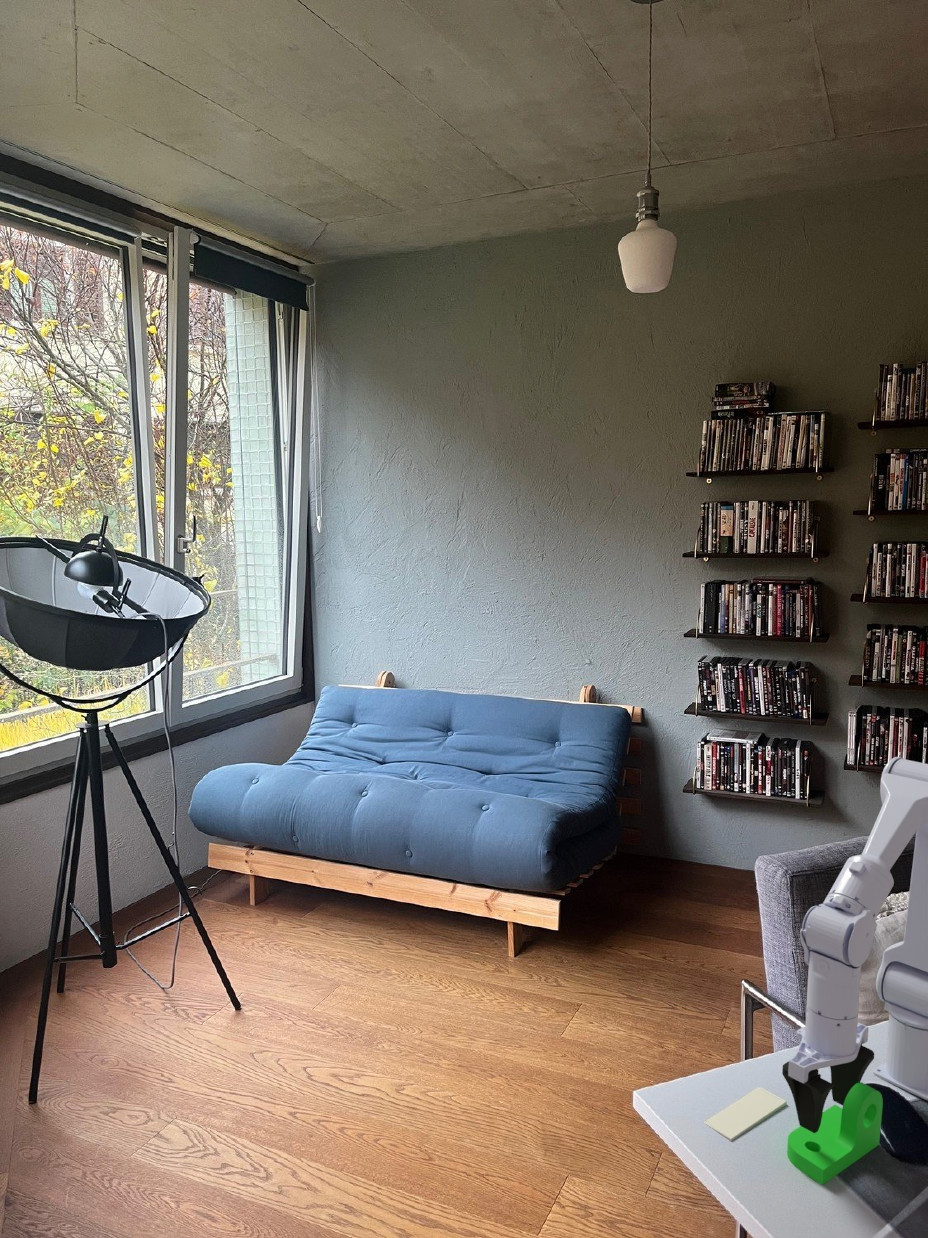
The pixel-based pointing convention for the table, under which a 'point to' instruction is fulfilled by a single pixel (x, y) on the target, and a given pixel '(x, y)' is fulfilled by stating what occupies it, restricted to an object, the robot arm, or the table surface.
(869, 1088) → the mechanical part
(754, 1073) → the table surface
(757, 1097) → the plate
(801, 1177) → the table surface
